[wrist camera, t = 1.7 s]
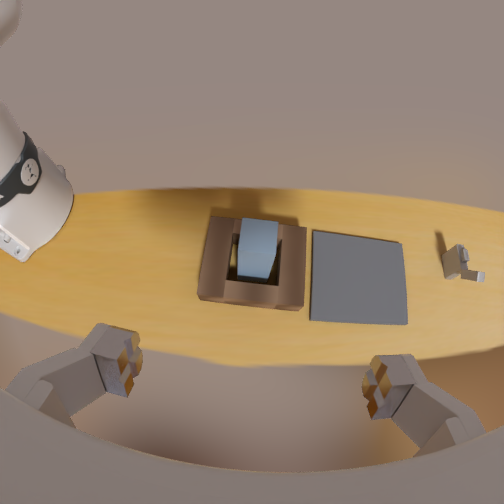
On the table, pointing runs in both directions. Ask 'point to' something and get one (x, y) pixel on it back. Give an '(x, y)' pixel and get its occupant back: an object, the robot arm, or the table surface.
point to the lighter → (459, 265)
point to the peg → (256, 249)
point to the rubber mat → (357, 280)
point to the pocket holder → (249, 294)
